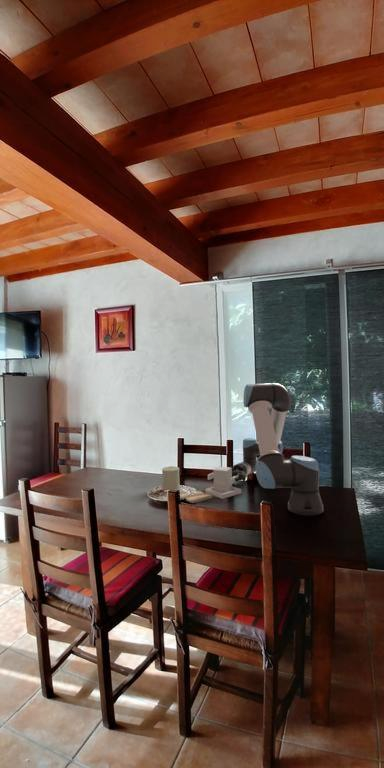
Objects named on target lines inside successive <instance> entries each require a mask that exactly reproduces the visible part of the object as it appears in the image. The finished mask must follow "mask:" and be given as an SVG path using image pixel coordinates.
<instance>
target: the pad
mask: <svg viewBox="0 0 384 768" xmlns="http://www.w3.org/2000/svg"><path fill="white" fill-rule="evenodd" d="M195 491H196V493H195V494H193V495H190V494H189V492H185V493H180V494H179V495H180V497H183V498H184V499H186V500H185V501H187V502H189V503H190V504H195V503H198V502H202V501H205V500H206V501H207V500H210V499H212V498H213V495H210V494H208V493H205V492H203V491H200V490H198V489H196V490H195ZM184 499H183V500H184Z"/></svg>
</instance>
